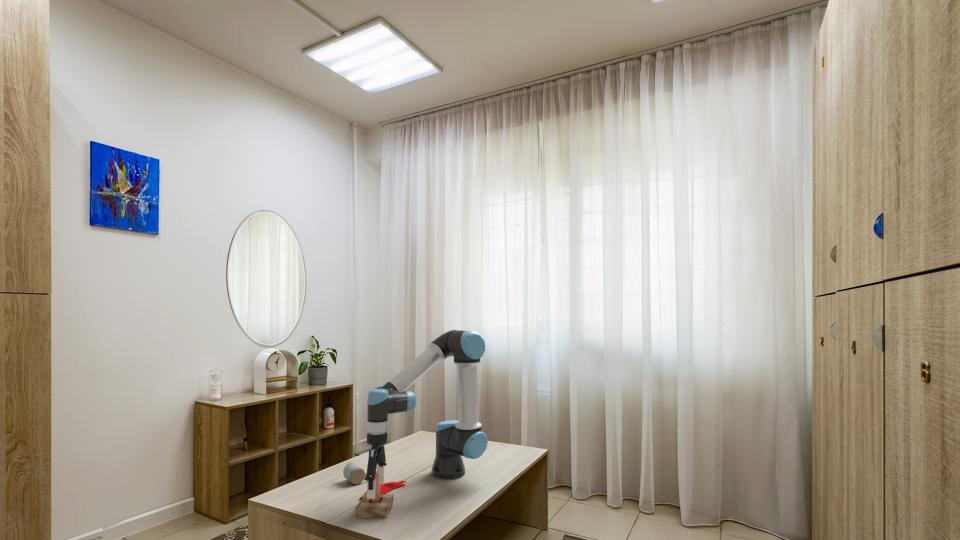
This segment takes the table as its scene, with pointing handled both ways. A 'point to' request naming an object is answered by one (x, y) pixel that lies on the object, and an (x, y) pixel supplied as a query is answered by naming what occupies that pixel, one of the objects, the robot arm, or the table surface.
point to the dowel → (377, 488)
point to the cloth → (388, 487)
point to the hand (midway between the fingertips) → (375, 491)
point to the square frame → (375, 507)
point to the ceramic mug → (354, 473)
